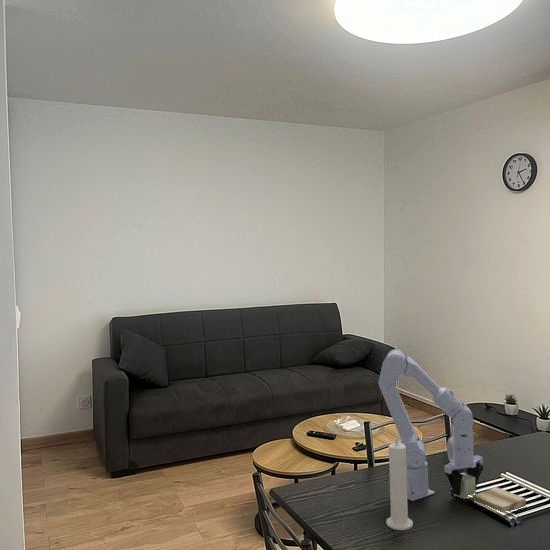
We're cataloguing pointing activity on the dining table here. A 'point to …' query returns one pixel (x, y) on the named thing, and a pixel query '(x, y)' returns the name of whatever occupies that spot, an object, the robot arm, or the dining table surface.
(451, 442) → the grey flat oval piece
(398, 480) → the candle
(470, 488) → the sage block
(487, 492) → the maple slab
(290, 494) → the dining table surface
